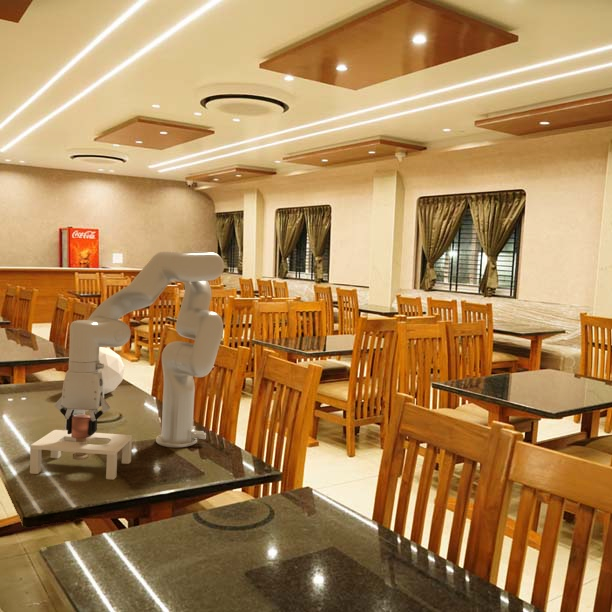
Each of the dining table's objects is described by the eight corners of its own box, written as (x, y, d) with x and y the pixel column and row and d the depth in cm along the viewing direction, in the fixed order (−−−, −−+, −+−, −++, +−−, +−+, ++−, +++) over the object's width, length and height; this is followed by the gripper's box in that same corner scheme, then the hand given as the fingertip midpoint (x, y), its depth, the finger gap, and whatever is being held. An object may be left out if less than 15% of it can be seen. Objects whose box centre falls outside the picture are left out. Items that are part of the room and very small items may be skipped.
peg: (93, 454, 166) (94, 415, 165) (86, 461, 161) (87, 420, 160) (75, 453, 166) (76, 414, 165) (67, 459, 161) (68, 419, 160)
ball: (100, 406, 250) (120, 364, 260) (118, 400, 235) (139, 355, 245) (57, 386, 242) (80, 343, 252) (74, 377, 227) (97, 332, 237)
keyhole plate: (131, 461, 171) (132, 435, 170) (113, 479, 157) (114, 451, 156) (53, 455, 171) (54, 429, 171) (29, 473, 157) (30, 445, 157)
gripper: (120, 366, 165) (117, 431, 167) (58, 362, 166) (56, 427, 167) (110, 371, 158) (107, 439, 159) (45, 367, 158) (43, 435, 160)
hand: (81, 432), depth 163 cm, fingers closed on peg, 5 cm apart
